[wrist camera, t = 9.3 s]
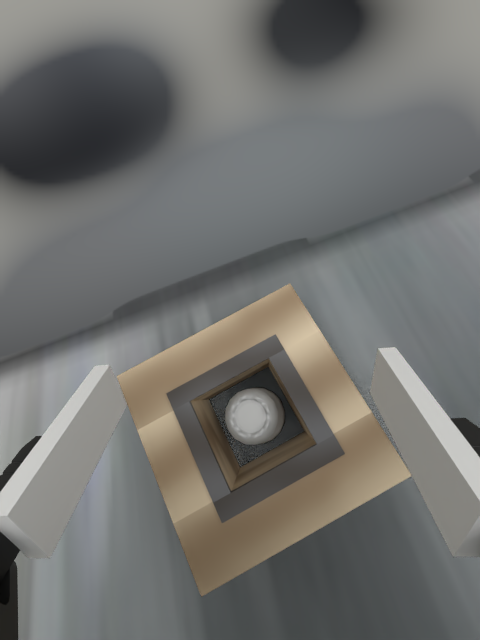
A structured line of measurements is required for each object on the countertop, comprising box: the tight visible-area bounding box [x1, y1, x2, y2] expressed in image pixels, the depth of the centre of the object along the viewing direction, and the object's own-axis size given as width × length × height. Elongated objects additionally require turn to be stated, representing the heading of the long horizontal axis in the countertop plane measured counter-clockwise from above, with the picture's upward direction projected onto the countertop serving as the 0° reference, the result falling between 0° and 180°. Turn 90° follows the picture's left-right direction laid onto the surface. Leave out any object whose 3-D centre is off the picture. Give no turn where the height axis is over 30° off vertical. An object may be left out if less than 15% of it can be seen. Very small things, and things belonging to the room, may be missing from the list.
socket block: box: [117, 284, 412, 597], centre depth 21 cm, size 14×14×6 cm
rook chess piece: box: [225, 388, 285, 445], centre depth 20 cm, size 4×4×8 cm
